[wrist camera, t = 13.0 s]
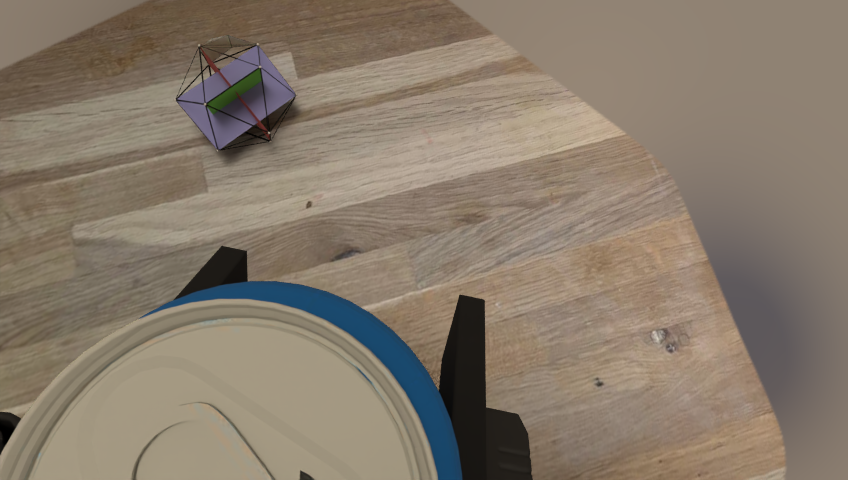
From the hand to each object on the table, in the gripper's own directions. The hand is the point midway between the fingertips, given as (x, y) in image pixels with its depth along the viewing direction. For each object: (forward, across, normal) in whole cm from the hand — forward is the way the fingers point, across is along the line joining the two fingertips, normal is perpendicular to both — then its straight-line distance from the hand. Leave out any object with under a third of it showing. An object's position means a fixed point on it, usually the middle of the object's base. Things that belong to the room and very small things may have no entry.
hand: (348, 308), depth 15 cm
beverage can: (0, 0, -5) cm, 5 cm away
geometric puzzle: (+23, -13, -4) cm, 26 cm away
